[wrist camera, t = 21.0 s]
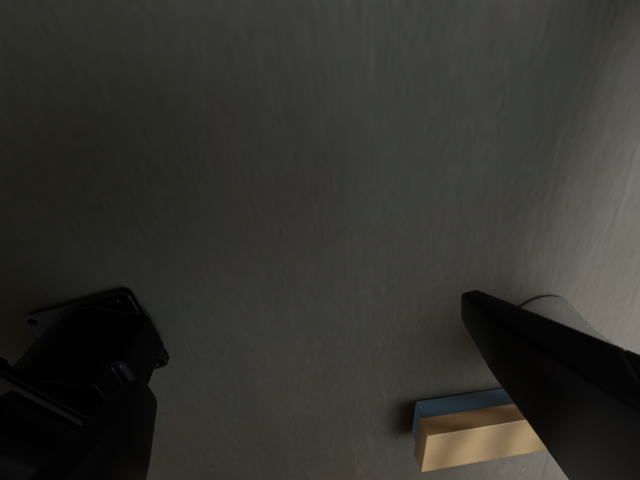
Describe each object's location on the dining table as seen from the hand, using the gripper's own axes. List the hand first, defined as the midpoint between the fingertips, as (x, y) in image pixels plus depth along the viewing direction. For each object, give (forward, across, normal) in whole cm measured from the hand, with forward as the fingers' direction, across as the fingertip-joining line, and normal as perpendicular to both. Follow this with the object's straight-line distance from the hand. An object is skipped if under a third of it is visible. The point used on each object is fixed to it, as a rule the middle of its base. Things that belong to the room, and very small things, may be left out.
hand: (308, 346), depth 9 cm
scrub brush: (+12, -12, +24) cm, 29 cm away
